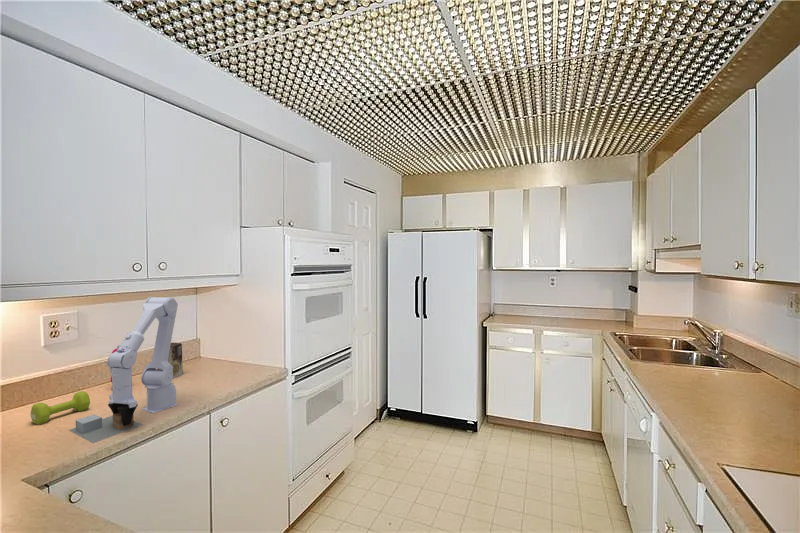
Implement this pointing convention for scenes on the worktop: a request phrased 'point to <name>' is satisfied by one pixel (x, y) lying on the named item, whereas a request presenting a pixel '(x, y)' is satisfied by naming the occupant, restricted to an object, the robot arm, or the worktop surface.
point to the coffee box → (175, 359)
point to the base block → (88, 423)
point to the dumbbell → (59, 407)
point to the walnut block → (120, 421)
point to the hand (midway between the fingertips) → (123, 423)
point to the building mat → (104, 430)
